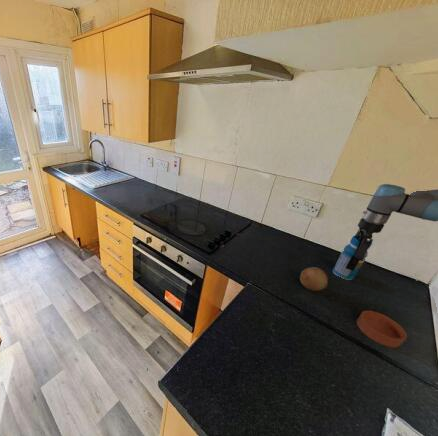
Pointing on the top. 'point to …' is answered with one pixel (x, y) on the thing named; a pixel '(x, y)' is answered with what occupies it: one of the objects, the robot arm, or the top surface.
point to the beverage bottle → (345, 258)
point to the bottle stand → (381, 329)
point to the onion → (314, 279)
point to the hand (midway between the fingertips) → (348, 264)
